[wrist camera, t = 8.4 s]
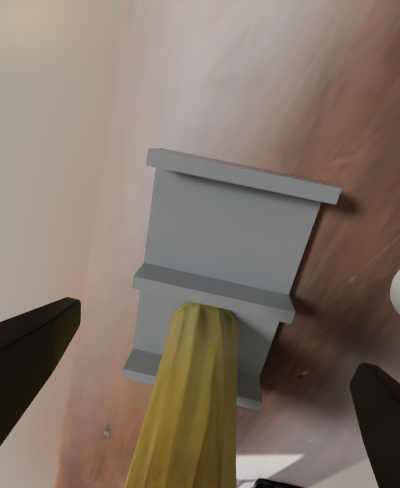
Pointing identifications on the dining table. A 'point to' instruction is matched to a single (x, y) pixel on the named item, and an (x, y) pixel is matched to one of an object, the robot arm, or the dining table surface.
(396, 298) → the coffee cup
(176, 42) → the dining table surface
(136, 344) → the tiered shelf
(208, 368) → the vase
